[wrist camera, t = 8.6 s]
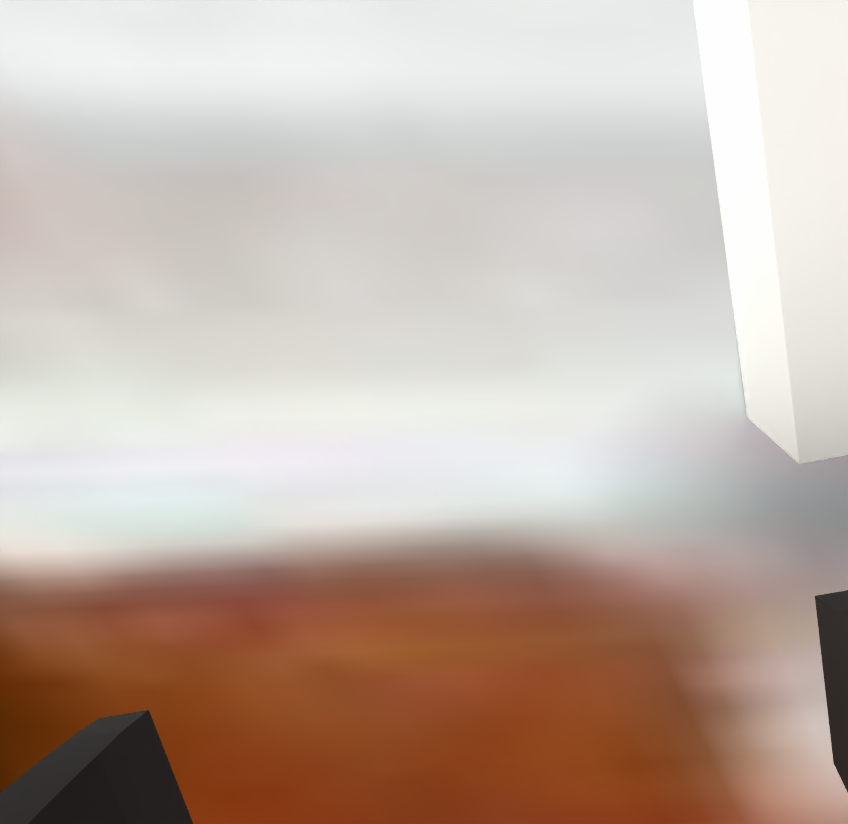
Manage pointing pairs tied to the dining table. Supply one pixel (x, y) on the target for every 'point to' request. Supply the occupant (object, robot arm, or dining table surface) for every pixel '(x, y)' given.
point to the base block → (784, 208)
